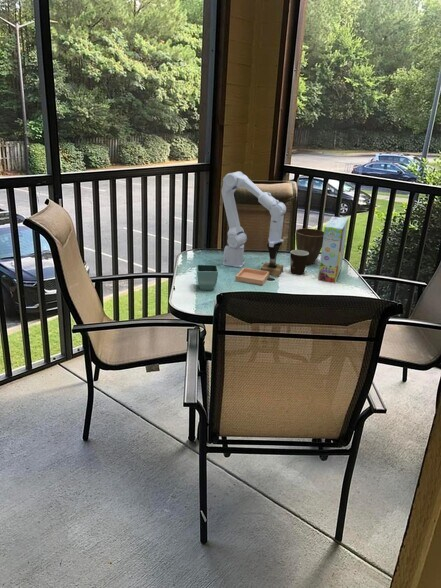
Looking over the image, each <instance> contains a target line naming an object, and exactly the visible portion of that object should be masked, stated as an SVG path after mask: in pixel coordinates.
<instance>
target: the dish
mask: <svg viewBox="0 0 441 588" xmlns="http://www.w3.org/2000/svg"><path fill="white" fill-rule="evenodd" d="M269 274H270V272H268V271H262V270H261V269H256V268H250V267H242V268H241V270H239V272H238V273H237V274H235V277H234V282H240V283H245V284H252V285H255V286H257V285H258V286H263V285H264V284H265V283H266V282H267V280H268V279H269V278H270V275H269Z"/></svg>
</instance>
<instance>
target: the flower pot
mask: <svg viewBox="0 0 441 588" xmlns="http://www.w3.org/2000/svg"><path fill="white" fill-rule="evenodd" d="M196 275H197V283H198V286H199V289H200V290H206V291H207V290H210V291H213V290H214V289H215V287H216V285H217V282H218V279H219V278H218V276H219V269H218V265H216V264H196Z"/></svg>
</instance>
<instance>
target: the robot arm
mask: <svg viewBox="0 0 441 588" xmlns="http://www.w3.org/2000/svg"><path fill="white" fill-rule="evenodd" d="M238 188H244V189H246V190H247V191H248V192H250V193H251V194H252V195H253V196H255V197H256V198H257V199H258V200H257V201H258V203H260V205H261V206H262V207H263V208H265V209H267V210H268V211H269V214H270V222H269V223H270V224H269V225H270V226H269V232H268V239H267V240H268V243H267V244H266V247H267V249H268V255H269V260H270V259H275V256H276V252H277V254H278V253H279V250H280V247H281V245H282V244H283V242H285V239H283V238H282V237H283V236H282V234H283V226H284V218H285V217H284V216H285V214H286V211H287V206H286V205H285V203H284V202H282V201H279V199H276V198H275V197H274V196H272V193H271V192H268V191H262V189H260V188H259V187H258V186H257V185H256V184H255V183H254V182H253V181H252V180H251V179H250V178H249V177H248V176H247V175H246V174H244V173H243V172H242V171H241V170H240V171H239V170H238V171H235V172H234V171H233V172H229V173H226V175H225V176H224V177H223V179H222V187H221V196H222V202H223V206H224V209H225V215H226V220H227V225H228V228H229V229H228V231H227V241H226V242H227V245H225V246H224V249H223V261H222V265H223V266H228V267H235V268H243V266H245V264H246V262H245V261H244V255H245V254H244V253H245V243H246V242H247V241H248V237H247V234H246V233H245V231H244V228H243V227H242V226H241V222H240V217H239V213H238V208H237V204H236V199H235V196H234V195H235V192H236V190H237V189H238ZM276 257H277V256H276Z"/></svg>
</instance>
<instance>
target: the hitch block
mask: <svg viewBox="0 0 441 588" xmlns="http://www.w3.org/2000/svg"><path fill="white" fill-rule="evenodd" d="M260 270H262V271H268V272H270V274H269V276H270V275H271V277H277V278H279V277H280V276H281V275H282V273H283V272H284V264H279V263H276V266H275V268H270V267H269V262H264V263H263V264H262V266H261V267H260Z"/></svg>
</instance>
